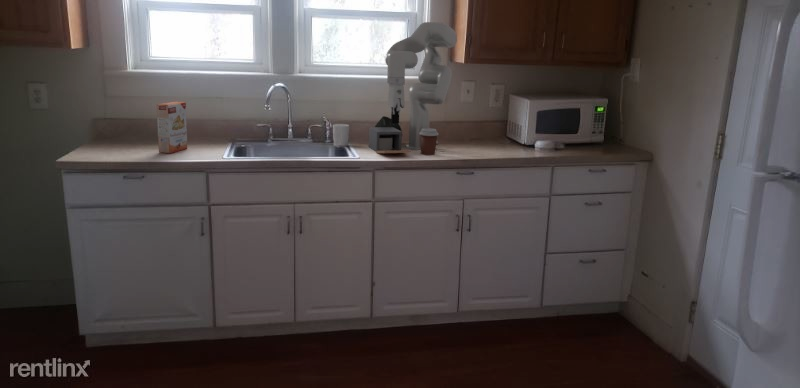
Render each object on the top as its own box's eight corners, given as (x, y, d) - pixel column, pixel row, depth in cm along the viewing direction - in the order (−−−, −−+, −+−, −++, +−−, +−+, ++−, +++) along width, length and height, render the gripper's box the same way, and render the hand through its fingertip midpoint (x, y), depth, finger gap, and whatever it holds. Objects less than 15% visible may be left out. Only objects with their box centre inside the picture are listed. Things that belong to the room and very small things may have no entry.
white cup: (329, 145, 291) (329, 125, 288) (338, 143, 298) (338, 123, 295) (343, 147, 287) (343, 126, 285) (351, 145, 294) (352, 125, 292)
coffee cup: (429, 157, 271) (430, 131, 268) (413, 154, 277) (415, 128, 274) (441, 155, 278) (443, 129, 275) (426, 152, 283) (427, 127, 280)
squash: (408, 132, 306) (390, 109, 303) (405, 138, 291) (386, 114, 289) (387, 149, 309) (368, 127, 307) (383, 156, 295) (364, 132, 293)
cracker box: (171, 154, 256) (168, 104, 251) (158, 153, 257) (155, 104, 252) (188, 148, 269) (186, 101, 264) (176, 147, 270) (173, 101, 265)
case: (392, 147, 292) (393, 127, 290) (401, 153, 279) (402, 131, 277) (368, 148, 289) (369, 127, 286) (376, 153, 276) (377, 131, 273)
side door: (402, 150, 278) (411, 150, 266) (402, 152, 278) (411, 152, 266) (376, 150, 274) (384, 150, 262) (376, 152, 274) (384, 153, 262)
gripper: (409, 83, 254) (408, 125, 259) (399, 79, 268) (398, 120, 273) (392, 83, 252) (391, 126, 257) (382, 79, 266) (382, 120, 271)
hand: (395, 123), depth 265 cm, fingers closed
